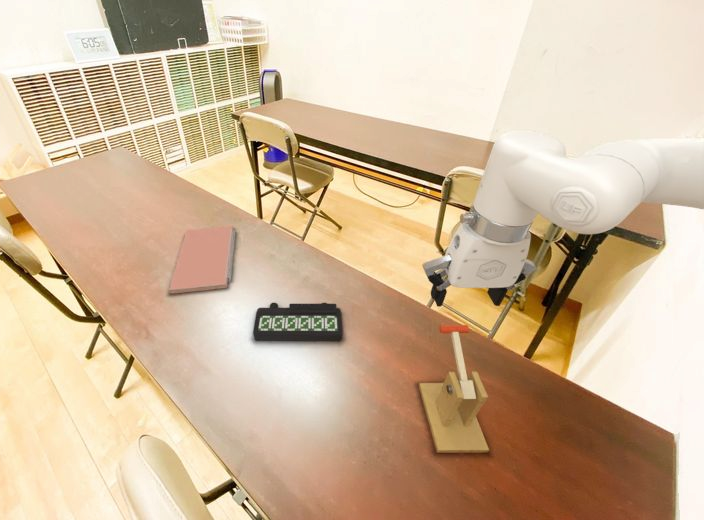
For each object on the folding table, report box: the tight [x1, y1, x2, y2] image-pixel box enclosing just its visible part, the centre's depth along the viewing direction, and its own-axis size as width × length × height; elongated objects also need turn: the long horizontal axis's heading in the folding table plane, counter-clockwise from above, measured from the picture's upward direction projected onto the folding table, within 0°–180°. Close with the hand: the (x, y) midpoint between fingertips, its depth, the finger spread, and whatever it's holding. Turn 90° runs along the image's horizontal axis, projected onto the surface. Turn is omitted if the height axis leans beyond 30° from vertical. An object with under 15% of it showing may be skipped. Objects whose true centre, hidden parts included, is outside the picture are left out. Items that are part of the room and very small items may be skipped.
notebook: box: [168, 225, 236, 295], centre depth 101 cm, size 27×17×2 cm, turn 6°
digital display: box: [252, 302, 343, 342], centre depth 80 cm, size 21×3×10 cm
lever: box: [438, 324, 476, 399], centre depth 58 cm, size 12×5×2 cm, turn 0°
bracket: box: [418, 371, 490, 454], centre depth 59 cm, size 12×9×13 cm
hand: (464, 299), depth 56 cm, fingers open, 9 cm apart
